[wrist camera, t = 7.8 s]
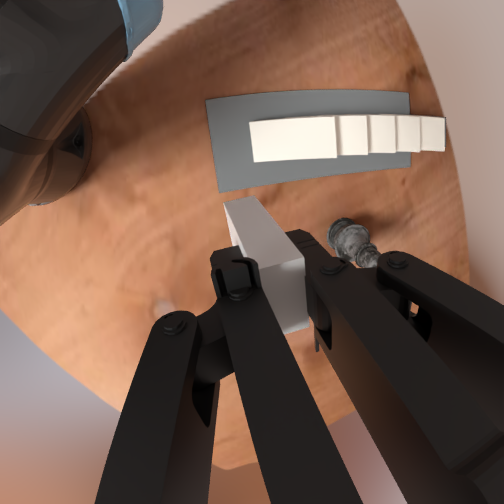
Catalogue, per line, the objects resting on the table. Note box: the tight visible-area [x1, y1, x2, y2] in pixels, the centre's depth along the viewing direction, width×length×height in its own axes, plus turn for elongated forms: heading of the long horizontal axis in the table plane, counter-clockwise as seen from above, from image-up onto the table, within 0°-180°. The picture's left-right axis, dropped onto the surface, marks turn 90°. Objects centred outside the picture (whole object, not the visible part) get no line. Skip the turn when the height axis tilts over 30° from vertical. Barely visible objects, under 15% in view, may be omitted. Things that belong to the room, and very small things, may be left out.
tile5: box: [379, 114, 445, 151], centre depth 37 cm, size 2×5×10 cm
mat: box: [205, 90, 411, 193], centre depth 38 cm, size 30×12×1 cm, turn 96°
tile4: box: [366, 114, 420, 152], centre depth 37 cm, size 2×5×10 cm
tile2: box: [287, 115, 368, 155], centre depth 35 cm, size 2×5×10 cm
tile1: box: [249, 116, 337, 162], centre depth 35 cm, size 2×5×10 cm
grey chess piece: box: [327, 218, 382, 268], centre depth 40 cm, size 6×6×12 cm
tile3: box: [318, 114, 396, 153], centre depth 36 cm, size 2×5×10 cm
